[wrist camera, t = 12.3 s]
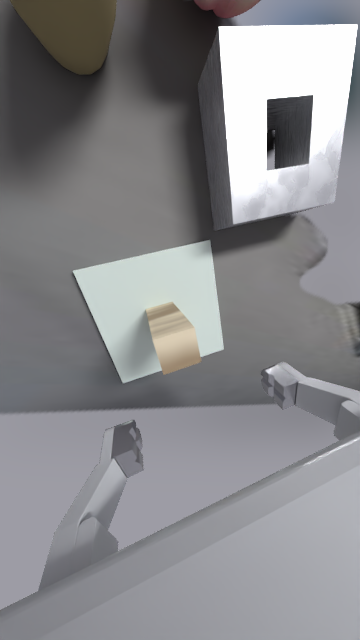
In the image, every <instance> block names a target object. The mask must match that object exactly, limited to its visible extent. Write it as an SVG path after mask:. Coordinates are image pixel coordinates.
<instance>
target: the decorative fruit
mask: <svg viewBox="0 0 360 640" xmlns="http://www.w3.org/2000/svg"><path fill="white" fill-rule="evenodd" d="M194 1H195V3H196V4H197V5H198V6H199V7H200V8H201V9H203V10H207V11H208V10H211V9H212V10H213V11H214V13H215V14H216V15H217V16H218V17H221V18H231V17H234V16H237V15H240V14H242V13H244V12H246V11H247V10H249V9H251V8H252V7H253V6H255V5H256V4H257V3H258V2H259V1H260V0H194Z"/></svg>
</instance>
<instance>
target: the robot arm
mask: <svg viewBox="0 0 360 640" xmlns="http://www.w3.org/2000/svg"><path fill="white" fill-rule="evenodd" d="M261 375H262V376H263V378H262V379H261V385H262V387H263V389H264V391H265V392H266V393H267V394H268V395H270V396H272V397H273V399H274V401H275V403H276V404H277V405H278V406H279V407H281V409H282V410H283V409H286V408H288V407H291V406H293V405H295V406H298V407H299V408H301V409H303V410H305V411H307V412H309V413H311V414H313V415H316V416H318V417H320V418H322V419H324V420H326V421H328V422H330V423H332V424H334V425H335V429H334V436H335V437H336V438H337V439H339V440H340V441H338V442H336V443H334V444H332V445H330V446H328V447H326V448H324V449H322V450H320V451H318V452H316V453H314V454H312V455H310V456H308V457H306V458H304V459H302V460H300V461H298V462H296V463H294V464H292V465H290V466H288V467H286V468H284V469H282V470H280V471H278V472H276V473H274V474H272V475H270V476H268V477H266V478H264V479H262V480H260V481H258V482H256V483H254V484H252V485H250V486H248V487H246V488H244V489H242V490H240V491H238V492H236V493H234V494H232V495H230V496H228V497H226V498H224V499H222V500H220V501H218V502H216V503H214V504H212V505H210V506H208V507H206V508H204V509H202V510H200V511H198V512H196V513H194V514H192V515H190V516H188V517H186V518H184V519H182V520H180V521H178V522H176V523H174V524H172V525H170V526H168V527H166V528H164V529H162V530H160V531H158V532H156V533H154V534H152V535H150V536H148V537H146V538H144V539H141V540H140V541H138V542H135V543H134V544H132V545H129V546H127V547H126V548H124V549H121V550H120V551H118V541H117V539H116V538H115V537H114V536H113V535H112V534H111V533H110V532H109V531H108V528H109V526H110V523H111V521H112V518H113V516H114V513H115V510H116V508H117V505H118V502H119V500H120V497H121V495H122V492H123V489H124V487H125V484H126V482H127V478H128V477H130V476H132V475H134V474H137V473H139V472H141V471H143V470H144V469H143V455H142V453H141V449H142V438H141V434H140V431H139V429H138V428H136V422H135V421H134V420H131V421H128V422H125V423H123V424H120V425H117V426H114V427H111V428H109V429H106V430H105V432H104V437H103V443H102V449H101V456H100V462H99V464H98V465H96V466H95V468H94V470H93V471H92V473H91V474H90V476H89V478H88V479H87V481H86V482H85V484H84V486H83V487H82V489H81V491H80V492H79V494H78V496H77V497H76V499H75V500H74V502H73V504H72V505H71V507H70V508H69V510H68V512H67V514H66V515H65V516H64V518H63V520H62V521H61V523H60V525H59V526H58V528H57V530H56V531H55V533H54V536H53V540H52V544H51V547H50V550H49V554H48V558H47V561H46V565H45V568H44V572H43V576H42V579H41V583H40V586H39V590H38V591H37V592H35V593H33V594H31V595H29V596H27V597H25V598H23V599H22V600H19V601H18V602H15V603H13V604H11V605H10V606H7V607H5V608H3V609H1V610H0V640H360V391H357V390H353V389H349V388H346V387H342V386H339V385H335V384H332V383H328V382H324V381H321V380H317V379H314V378H310V377H309V378H307V377H305V376H304V375H302V374H301V373H299V372H298V371H297V370H295V369H294V368H292V367H291V366H290V365H288V364H287V363H285V362H281V363H279V364H276V365H273V366H271V367H268V368H266V369H263V370H262V371H261Z"/></svg>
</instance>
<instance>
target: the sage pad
mask: <svg viewBox="0 0 360 640" xmlns="http://www.w3.org/2000/svg"><path fill="white" fill-rule="evenodd" d="M73 273H74V275H75V277H76V280H77V282H78V284H79V286H80V288H81V291H82V293H83V295H84V297H85V300H86V302H87V304H88V306H89V309H90V311H91V313H92V315H93V318H94V320H95V322H96V324H97V327H98V329H99V331H100V333H101V335H102V338H103V340H104V342H105V344H106V347H107V349H108V351H109V353H110V356H111V358H112V360H113V362H114V365H115V367H116V369H117V371H118V374H119V376H120V378H121V380H122V382H123V383H126V382H129V381H132V380H135V379H137V378H140V377H143V376H146V375H149V374H152V373H155V372H158V371H161V370H162V368H161V365H160V362H159V359H158V356H157V353H156V349H155V346H154V343H153V340H152V335H151V331H150V326H149V322H148V317H147V313H146V309H148V308H151V307H155V306H159V305H162V304H166V303H169V302H173V303H174V304H175V305H176V306H177V308H178V309H179V310H180V311H181V312H182V313H183V314H184V316H185V317H186V318H187V319H188V320H189V321H190V322H191V324H192V325H193V326H194V327H195V332H196V337H197V342H198V347H199V352H200V357H202V356H205V355H208V354H211V353H214V352H217V351H220V350H223V349H224V347H223V339H222V331H221V323H220V315H219V307H218V299H217V291H216V283H215V275H214V267H213V259H212V251H211V243H210V240H207V241H203V242H198V243H194V244H189V245H185V246H181V247H176V248H172V249H167V250H163V251H159V252H154V253H150V254H145V255H141V256H137V257H132V258H128V259H123V260H119V261H115V262H110V263H106V264H101V265H97V266H92V267H88V268H84V269H79V270H75V271H73Z"/></svg>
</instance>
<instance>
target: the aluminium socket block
mask: <svg viewBox="0 0 360 640" xmlns="http://www.w3.org/2000/svg"><path fill="white" fill-rule="evenodd" d="M356 32H357V25H304V26H247V27H246V26H242V27H219V28H218V31H217V33H216V36H215V39H214V42H213V44H212V47H211V50H210V53H209V55H208V58H207V61H206V64H205V66H204V69H203V72H202V74H201V77H200V80H199V83H198V85H197V86H198V95H199V104H200V113H201V121H202V130H203V139H204V148H205V156H206V165H207V174H208V183H209V191H210V200H211V209H212V218H213V226H214V231H216V230H221V229H225V228H230V227H234V226H239V225H243V224H248V223H253V222H257V221H262V220H266V219H271V218H275V217H280V216H285V215H289V214H294V213H298V212H302V211H306V210H309V209H313V208H316V207H320V206H324V205H327V204H331V203H334V202H335V194H336V187H337V179H338V171H339V164H340V156H341V148H342V141H343V133H344V125H345V117H346V109H347V102H348V94H349V87H350V79H351V71H352V63H353V56H354V48H355V40H356ZM270 130H275V170H269V171H267V169H266V168H267V165H266V164H267V152H266V131H270Z"/></svg>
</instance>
